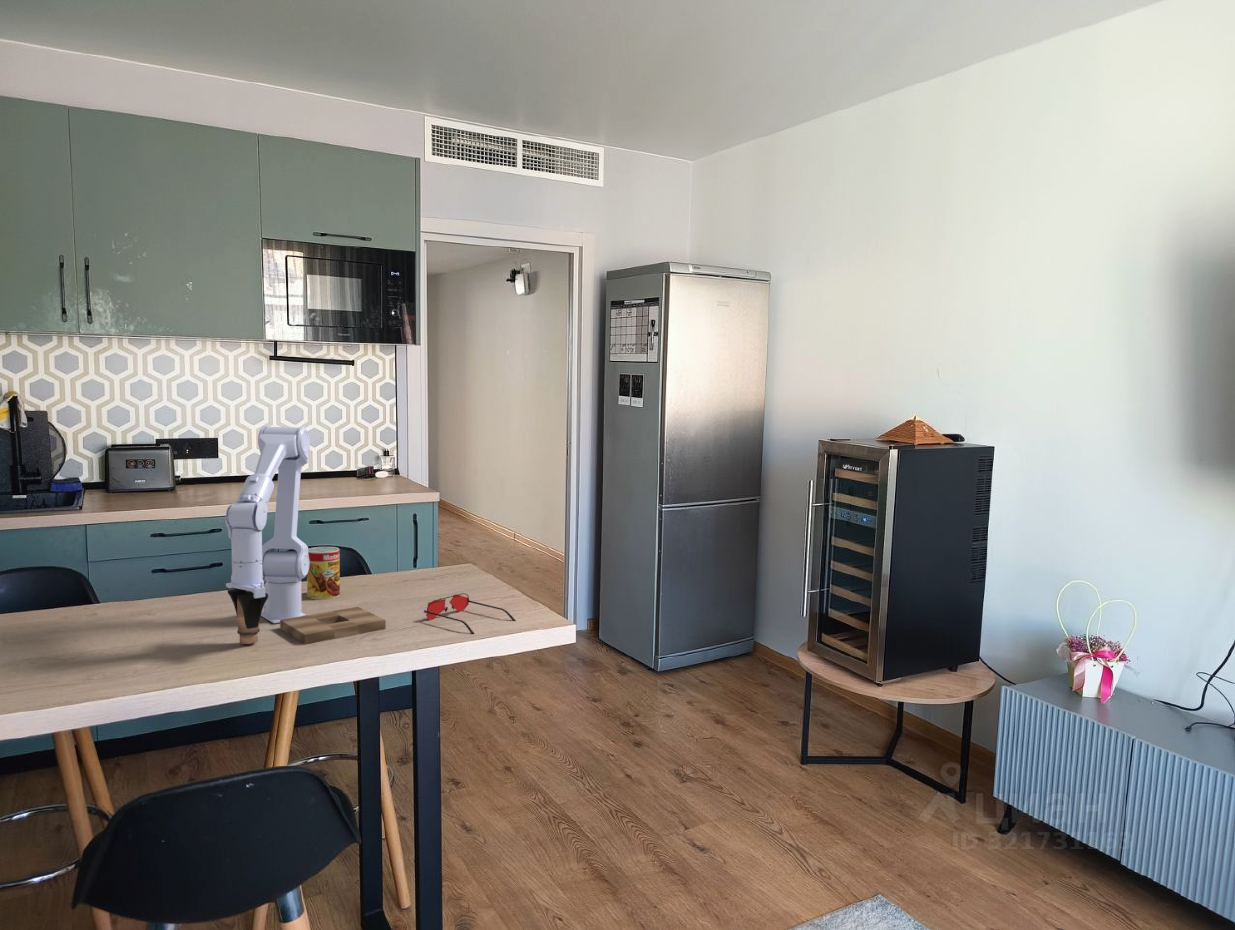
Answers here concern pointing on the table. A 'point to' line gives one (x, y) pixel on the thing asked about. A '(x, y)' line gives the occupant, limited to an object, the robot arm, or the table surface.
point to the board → (332, 624)
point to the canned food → (323, 573)
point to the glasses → (457, 603)
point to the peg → (245, 634)
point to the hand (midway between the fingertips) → (248, 625)
